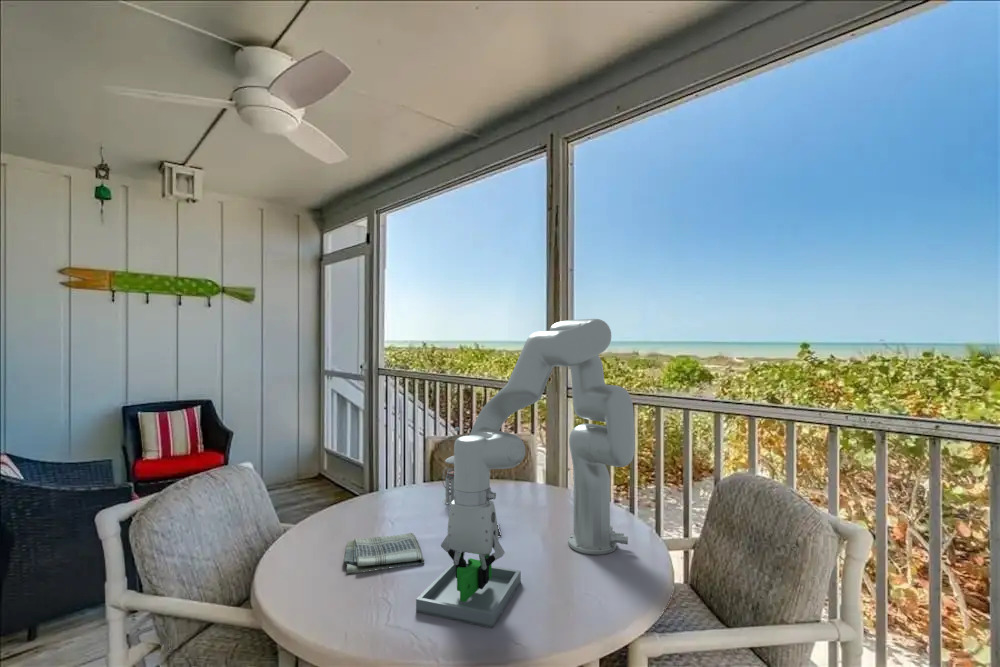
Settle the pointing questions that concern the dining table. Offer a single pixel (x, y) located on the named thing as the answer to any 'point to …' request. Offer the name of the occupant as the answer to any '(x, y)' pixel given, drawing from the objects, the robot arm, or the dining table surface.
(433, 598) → the tray
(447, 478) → the grey metal lantern
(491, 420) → the robot arm
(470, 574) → the pipe clamp
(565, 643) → the dining table surface
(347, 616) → the dining table surface
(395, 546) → the dish towel
